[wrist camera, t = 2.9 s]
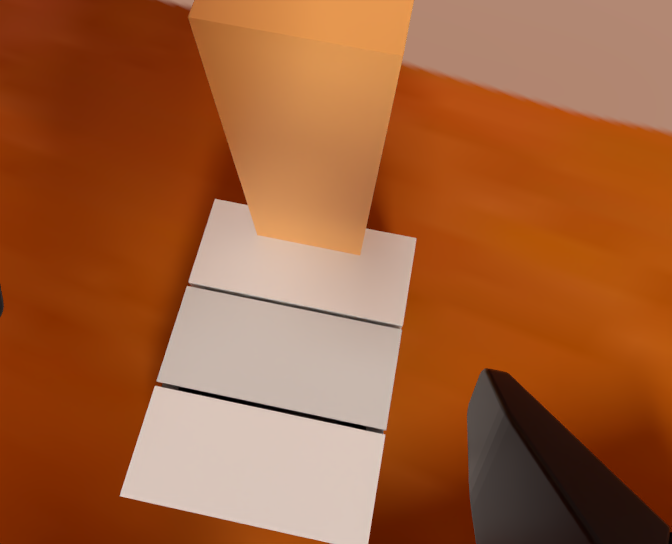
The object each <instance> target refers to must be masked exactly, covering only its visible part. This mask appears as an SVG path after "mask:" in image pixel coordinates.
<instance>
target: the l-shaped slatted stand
mask: <svg viewBox="0 0 672 544" xmlns="http://www.w3.org/2000/svg"><path fill="white" fill-rule="evenodd" d="M413 2H414V0H194V3H193V5H192V8H191V10H190V13H189V15H188V19H189V22H190V25H191V29H192V32H193V35H194V38H195V41H196V44H197V47H198V51H199V54H200V57H201V60H202V63H203V66H204V69H205V72H206V76H207V79H208V82H209V85H210V88H211V91H212V94H213V98H214V101H215V104H216V107H217V110H218V113H219V116H220V120H221V123H222V126H223V129H224V132H225V135H226V138H227V141H228V145H229V148H230V151H231V154H232V157H233V160H234V163H235V167H236V170H237V173H238V176H239V179H240V182H241V185H242V189H243V192H244V195H245V198H246V201H247V204H248V205H244V204H239V203H234V202H229V201H224V200H219V199H215V200H214V203H213V206H212V210H211V213H210V216H209V219H208V222H207V225H206V228H205V231H204V234H203V238H202V241H201V244H200V247H199V250H198V253H197V256H196V259H195V262H194V266H193V269H192V272H191V275H190V278H189V281H188V282H189V283H190V285H191V286H192V287H190V286H187V287H186V291H185V294H184V297H183V300H182V303H181V306H180V309H179V312H178V315H177V319H176V322H175V325H174V328H173V331H172V334H171V337H170V340H169V344H168V347H167V350H166V353H165V356H164V359H163V362H162V365H161V368H160V372H159V375H158V378H157V382H160V383H164V384H168V385H173V386H178V387H183V388H187V389H192V390H197V391H201V392H206V393H211V394H215V395H220V396H225V397H230V398H234V399H239V400H244V401H248V402H253V403H258V404H263V405H267V406H272V407H277V408H281V409H286V410H291V411H295V412H300V413H305V414H310V415H314V416H319V417H324V418H328V419H333V420H338V421H342V422H347V423H352V424H357V425H361V426H366V427H371V428H375V429H380V430H386V428H387V421H388V415H389V409H390V402H391V396H392V390H393V384H394V377H395V371H396V365H397V358H398V352H399V346H400V339H401V333H402V330H401V327H402V326H403V320H404V314H405V308H406V302H407V295H408V289H409V283H410V276H411V270H412V264H413V257H414V251H415V245H416V238H412V237H407V236H402V235H397V234H392V233H387V232H382V231H377V230H372V229H366V226H367V221H368V217H369V212H370V207H371V203H372V198H373V193H374V189H375V184H376V179H377V175H378V170H379V165H380V161H381V156H382V151H383V147H384V142H385V138H386V133H387V128H388V124H389V119H390V114H391V110H392V105H393V100H394V96H395V91H396V86H397V82H398V77H399V72H400V68H401V63H402V59H403V54H404V48H405V43H406V38H407V33H408V28H409V22H410V18H411V13H412V8H413ZM195 287H196V288H195ZM229 294H230V295H229ZM234 295H235V296H234ZM239 296H240V297H239ZM244 297H245V298H244ZM278 304H279V305H278ZM283 305H284V306H283ZM288 306H289V307H288ZM293 307H294V308H293ZM327 314H328V315H327ZM332 315H333V316H332ZM337 316H338V317H337ZM342 317H343V318H342ZM371 323H372V324H371ZM376 324H377V325H376ZM381 325H382V326H381ZM386 326H387V327H386ZM391 327H392V328H391ZM384 440H385V435H384V434H380V433H375V432H370V431H366V430H361V429H356V428H351V427H347V426H342V425H337V424H333V423H328V422H323V421H319V420H314V419H309V418H304V417H300V416H295V415H290V414H286V413H281V412H276V411H272V410H267V409H262V408H257V407H253V406H248V405H243V404H239V403H234V402H229V401H225V400H220V399H215V398H210V397H206V396H201V395H196V394H192V393H187V392H182V391H178V390H173V389H168V388H164V387H159V386H155V387H154V390H153V393H152V397H151V400H150V403H149V406H148V409H147V412H146V415H145V418H144V421H143V425H142V428H141V431H140V434H139V437H138V440H137V443H136V446H135V449H134V453H133V456H132V459H131V462H130V465H129V468H128V471H127V474H126V478H125V481H124V484H123V487H122V490H121V493H120V496H121V497H126V498H130V499H135V500H139V501H144V502H148V503H153V504H157V505H161V506H166V507H170V508H175V509H179V510H184V511H188V512H193V513H197V514H202V515H206V516H211V517H215V518H220V519H224V520H229V521H233V522H238V523H242V524H247V525H251V526H256V527H260V528H265V529H269V530H274V531H278V532H283V533H287V534H292V535H296V536H301V537H305V538H310V539H314V540H319V541H323V542H328V543H332V544H368V541H369V535H370V529H371V522H372V516H373V510H374V503H375V497H376V491H377V485H378V478H379V472H380V466H381V459H382V453H383V447H384Z"/></svg>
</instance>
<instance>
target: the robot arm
mask: <svg viewBox="0 0 672 544" xmlns="http://www.w3.org/2000/svg"><path fill="white" fill-rule="evenodd" d="M3 308H4V303H3V297H2V291H1V286H0V317H1V315H2V312H3ZM467 428H468V465H469V493H470V503H471V511H472V518H473V525H474V532H475V539H476V544H672V532H670V531H671V530H670V527H669V526H668V525H667V524H666V523H665V522H664V521H663V520H662V519H661V518H660V517H659V516H658V515H657V514H656V513H655V512H653V511H652V510H651V509H650V508H649V507H648V506H647V505H646V504H645V503H644V502H643V501H642V500H641V499H640V498H639V497H638V496H637V495H636V494H635V493H634V492H632V491H631V490H630V489H629V488H628V487H627V486H626V485H625V484H624V483H623V482H622V481H621V480H620V479H619V478H618V477H617V476H616V475H615V474H614V473H613V472H611V471H610V470H609V469H608V468H607V467H606V466H605V465H604V464H603V463H602V462H601V461H600V460H599V459H598V458H597V457H596V456H595V455H594V454H593V453H592V452H590V451H589V450H588V449H587V448H586V447H585V446H584V445H583V444H582V443H581V442H580V441H579V440H578V439H577V438H576V437H575V436H574V435H573V434H572V433H571V432H569V431H568V430H567V429H566V428H565V427H564V426H563V425H562V424H561V423H560V422H559V421H558V420H557V419H556V418H555V417H554V416H553V415H552V414H551V413H550V412H548V411H547V410H546V409H545V408H544V407H543V406H542V405H541V404H540V403H539V402H538V401H537V400H536V399H535V398H534V397H533V396H532V395H531V394H530V393H529V392H527V391H526V390H525V389H524V388H523V387H522V386H521V385H520V384H519V383H518V382H517V381H516V380H515V379H514V378H513V377H512V376H511V375H510V374H508V373H507V372H503V371H498V370H493V369H488V368H486V369H484V370H483V371H482V372H481V374H480V376H479V378H478V381H477V384H476V386H475V389H474V392H473V394H472V397H471V400H470V403H469V406H468V412H467Z"/></svg>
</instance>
